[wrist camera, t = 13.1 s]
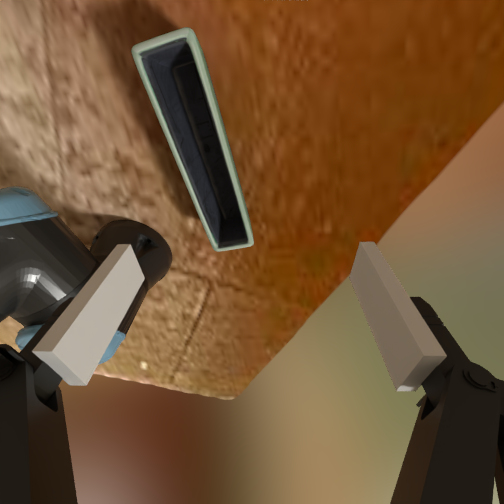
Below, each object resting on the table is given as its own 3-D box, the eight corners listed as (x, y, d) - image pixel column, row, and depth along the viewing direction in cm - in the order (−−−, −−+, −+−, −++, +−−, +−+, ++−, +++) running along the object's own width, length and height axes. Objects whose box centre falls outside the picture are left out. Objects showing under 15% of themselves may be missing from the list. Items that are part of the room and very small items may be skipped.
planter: (152, 49, 30) (126, 46, 24) (206, 31, 29) (191, 23, 23) (220, 230, 46) (213, 253, 41) (256, 223, 45) (255, 246, 40)
